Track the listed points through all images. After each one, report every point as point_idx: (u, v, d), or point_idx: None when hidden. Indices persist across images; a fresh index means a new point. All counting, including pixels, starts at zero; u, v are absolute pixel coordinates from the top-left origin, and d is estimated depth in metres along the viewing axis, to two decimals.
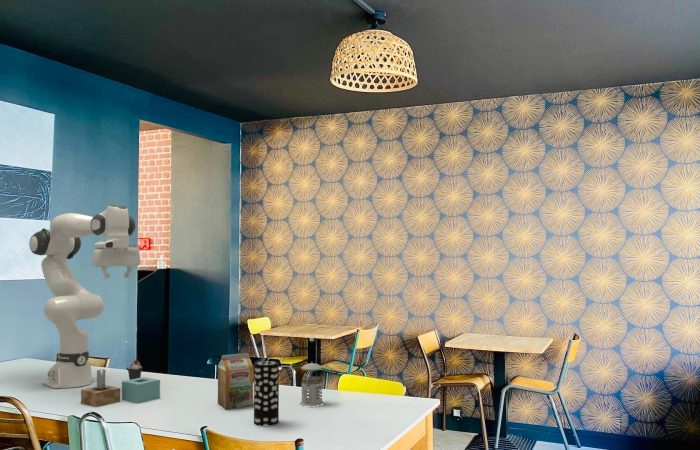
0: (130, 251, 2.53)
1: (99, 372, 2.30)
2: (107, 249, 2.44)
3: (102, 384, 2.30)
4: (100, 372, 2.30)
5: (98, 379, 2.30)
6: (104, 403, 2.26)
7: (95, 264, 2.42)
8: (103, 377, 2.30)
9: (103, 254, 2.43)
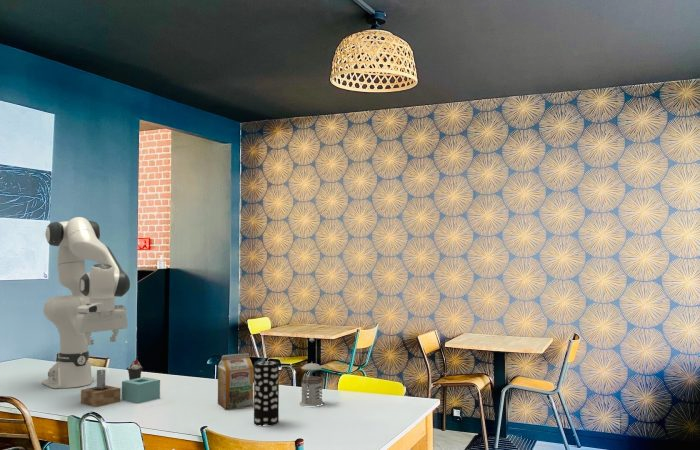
0: (116, 314, 2.35)
1: (99, 372, 2.30)
2: (90, 314, 2.25)
3: (102, 384, 2.30)
4: (100, 372, 2.30)
5: (98, 379, 2.30)
6: (104, 403, 2.26)
7: (77, 331, 2.23)
8: (103, 377, 2.30)
9: (86, 319, 2.25)
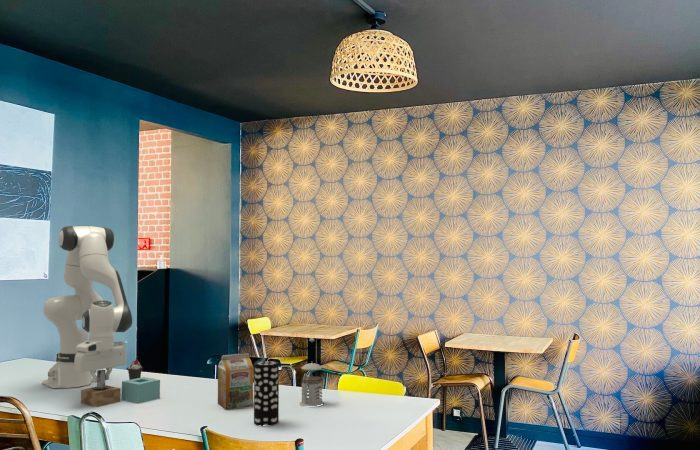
0: (115, 351, 2.34)
1: (99, 372, 2.30)
2: (90, 352, 2.25)
3: (102, 384, 2.30)
4: (100, 372, 2.30)
5: None
6: (104, 403, 2.26)
7: (77, 370, 2.23)
8: (103, 377, 2.30)
9: (85, 358, 2.24)
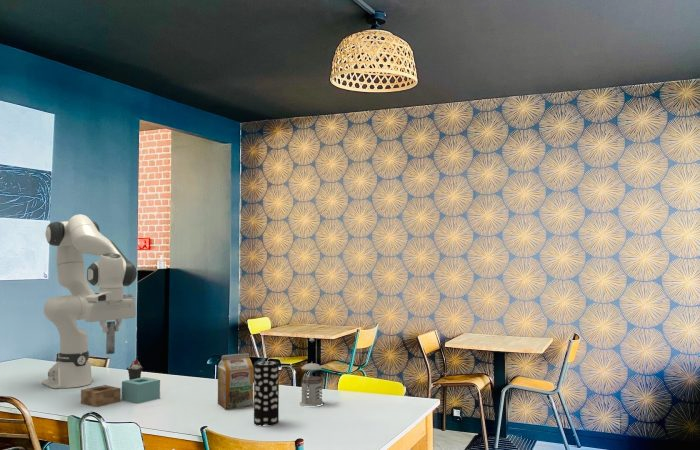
0: (125, 303, 2.36)
1: (109, 323, 2.31)
2: (100, 302, 2.27)
3: (111, 335, 2.31)
4: (110, 323, 2.31)
5: (108, 330, 2.31)
6: (104, 403, 2.26)
7: (87, 319, 2.25)
8: (113, 328, 2.32)
9: (95, 308, 2.26)
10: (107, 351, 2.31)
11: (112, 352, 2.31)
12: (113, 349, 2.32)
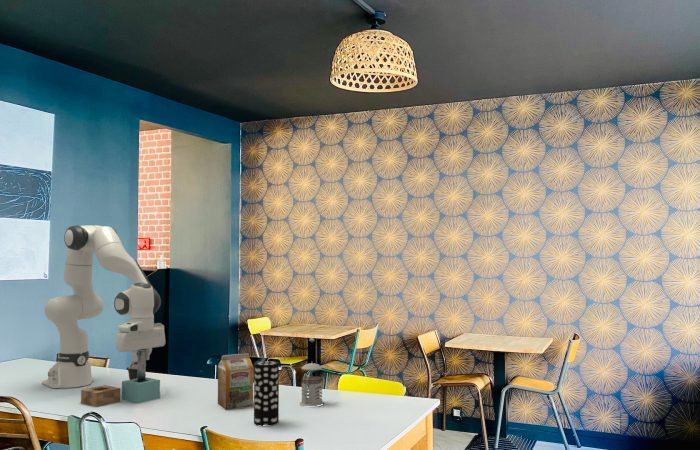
0: (155, 332, 2.40)
1: (140, 352, 2.35)
2: (132, 333, 2.30)
3: (143, 364, 2.35)
4: (141, 352, 2.35)
5: None
6: (104, 403, 2.26)
7: (119, 349, 2.28)
8: (144, 357, 2.36)
9: (127, 338, 2.29)
10: (138, 380, 2.35)
11: (143, 381, 2.35)
12: (144, 378, 2.36)
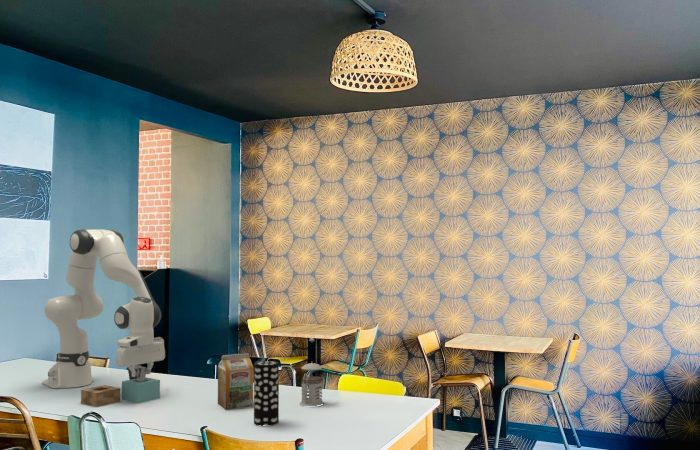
0: (155, 346, 2.40)
1: (140, 369, 2.35)
2: (131, 347, 2.30)
3: (142, 381, 2.35)
4: (141, 369, 2.35)
5: (139, 376, 2.35)
6: (104, 403, 2.26)
7: (119, 364, 2.28)
8: (144, 374, 2.35)
9: (127, 353, 2.29)
10: None
11: None
12: None
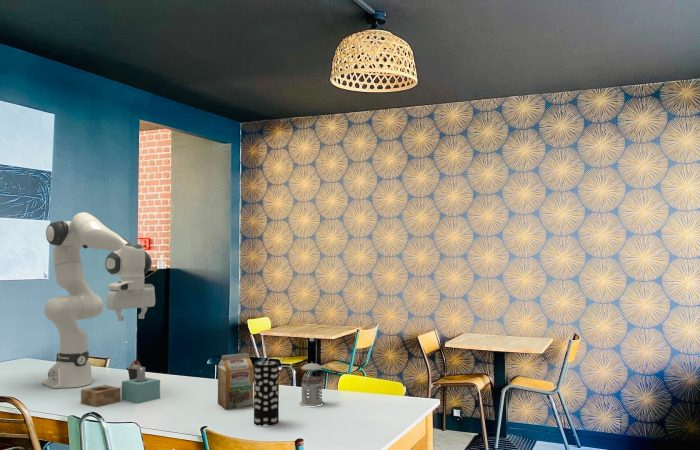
0: (145, 292, 2.43)
1: (139, 369, 2.35)
2: (122, 291, 2.34)
3: (142, 381, 2.35)
4: (140, 369, 2.35)
5: (138, 376, 2.35)
6: (104, 403, 2.26)
7: (109, 307, 2.32)
8: (143, 374, 2.35)
9: (117, 296, 2.33)
10: None
11: None
12: None
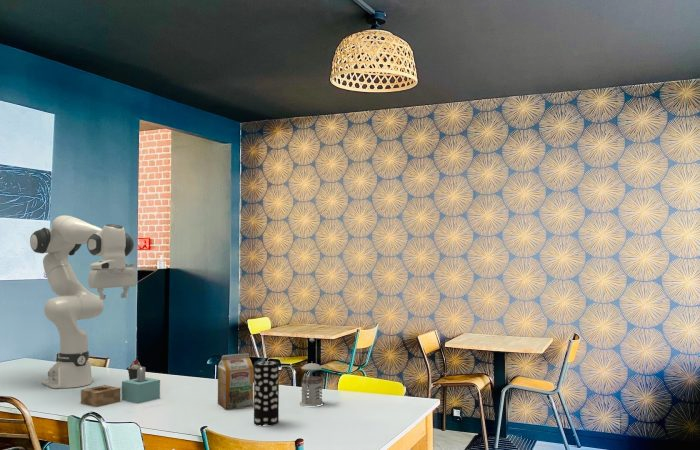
0: (126, 271, 2.48)
1: (139, 369, 2.35)
2: (103, 270, 2.39)
3: (142, 381, 2.35)
4: (140, 369, 2.35)
5: (138, 376, 2.35)
6: (104, 403, 2.26)
7: (91, 285, 2.37)
8: (143, 374, 2.35)
9: (99, 275, 2.38)
10: None
11: None
12: None
